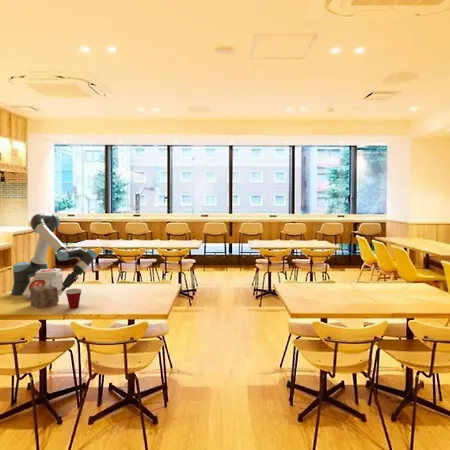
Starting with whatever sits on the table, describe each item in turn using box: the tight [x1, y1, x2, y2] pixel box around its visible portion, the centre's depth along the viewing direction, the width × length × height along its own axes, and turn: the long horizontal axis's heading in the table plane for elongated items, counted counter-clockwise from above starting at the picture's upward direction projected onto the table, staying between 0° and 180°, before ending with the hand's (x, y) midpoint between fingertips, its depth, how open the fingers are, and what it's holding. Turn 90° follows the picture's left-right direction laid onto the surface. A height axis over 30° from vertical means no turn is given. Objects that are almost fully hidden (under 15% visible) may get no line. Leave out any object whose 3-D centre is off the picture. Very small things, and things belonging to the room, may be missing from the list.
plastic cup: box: [64, 288, 83, 310], centre depth 297 cm, size 11×11×12 cm
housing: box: [30, 285, 58, 310], centre depth 304 cm, size 13×14×12 cm
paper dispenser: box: [22, 268, 64, 299], centre depth 332 cm, size 19×30×18 cm, turn 167°
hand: (58, 294), depth 310 cm, fingers closed
